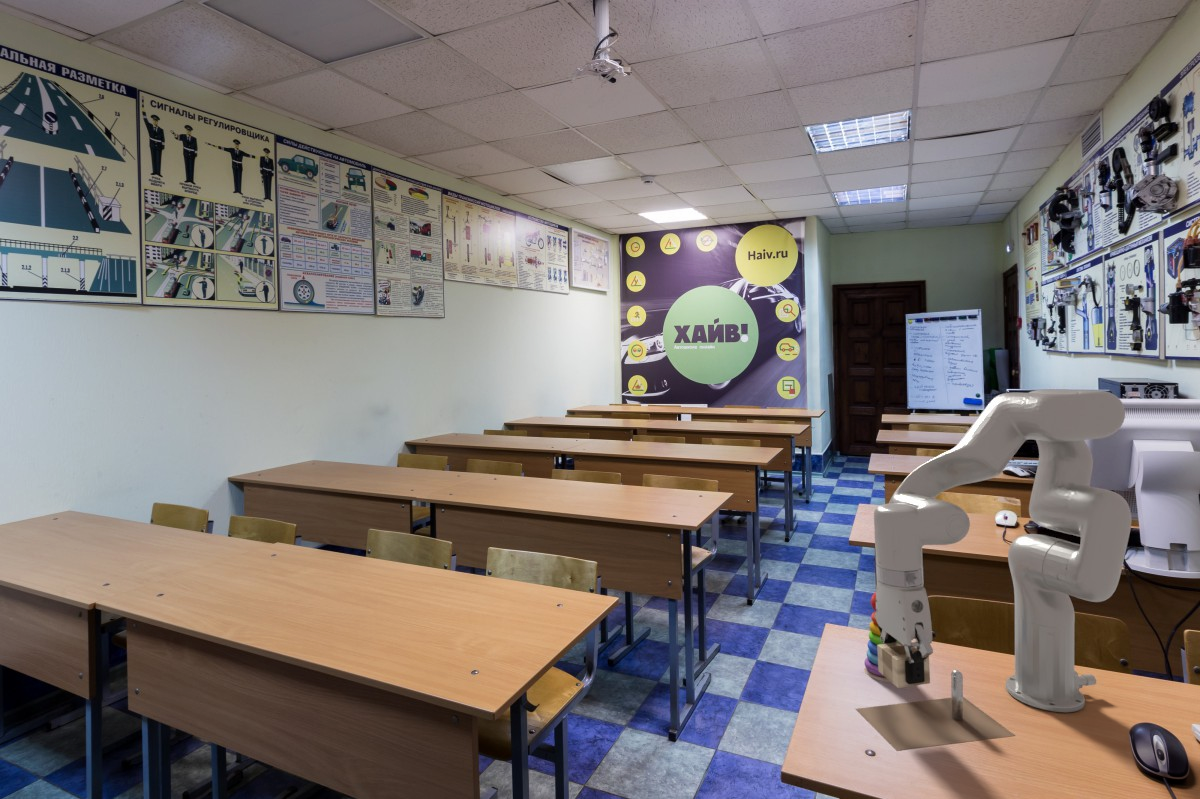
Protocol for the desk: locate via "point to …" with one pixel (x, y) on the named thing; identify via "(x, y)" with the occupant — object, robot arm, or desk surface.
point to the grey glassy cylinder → (957, 695)
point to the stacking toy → (874, 647)
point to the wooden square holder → (897, 664)
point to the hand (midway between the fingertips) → (903, 672)
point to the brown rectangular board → (931, 724)
